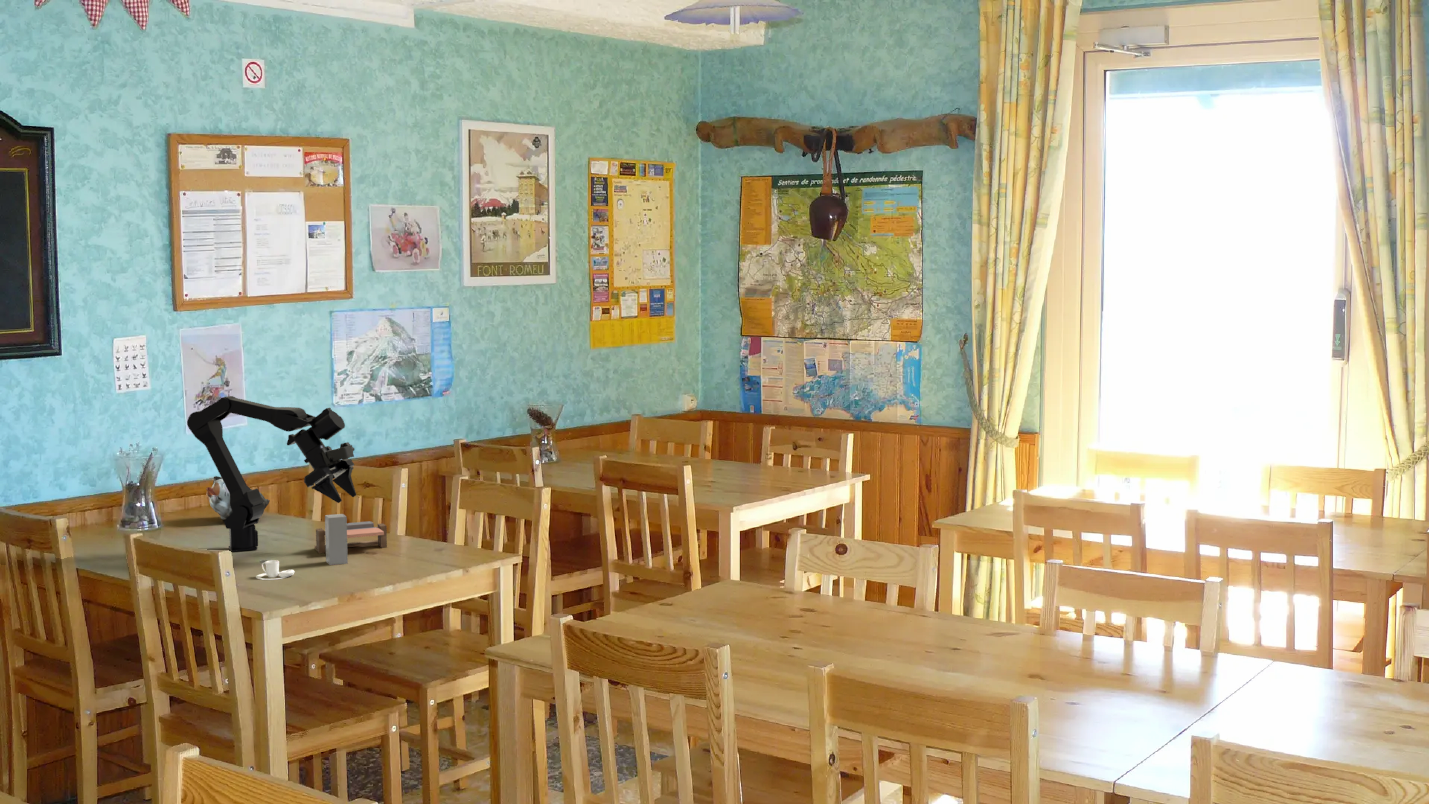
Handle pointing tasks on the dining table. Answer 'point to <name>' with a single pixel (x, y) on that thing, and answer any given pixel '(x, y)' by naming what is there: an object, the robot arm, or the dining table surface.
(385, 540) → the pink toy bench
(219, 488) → the lucky cat figurine
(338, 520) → the stone block
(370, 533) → the pink flat slab
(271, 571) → the teacup and saucer
